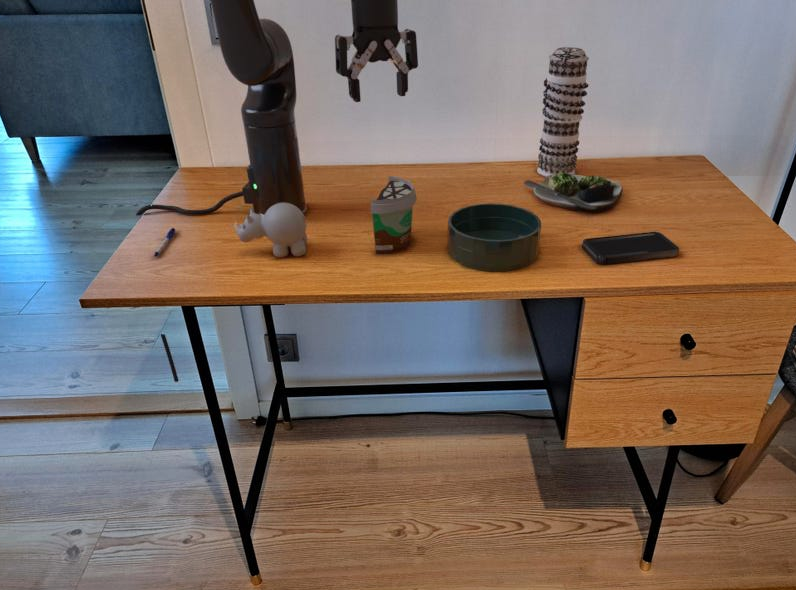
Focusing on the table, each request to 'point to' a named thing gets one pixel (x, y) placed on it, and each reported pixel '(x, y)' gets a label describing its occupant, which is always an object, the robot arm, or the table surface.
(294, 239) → the round bodied animal figurine
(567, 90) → the decorative candle
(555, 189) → the salad plate
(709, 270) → the table surface
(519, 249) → the bowl
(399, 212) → the food container
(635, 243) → the phone
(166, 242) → the ballpoint pen
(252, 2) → the robot arm
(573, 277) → the table surface
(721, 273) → the table surface
